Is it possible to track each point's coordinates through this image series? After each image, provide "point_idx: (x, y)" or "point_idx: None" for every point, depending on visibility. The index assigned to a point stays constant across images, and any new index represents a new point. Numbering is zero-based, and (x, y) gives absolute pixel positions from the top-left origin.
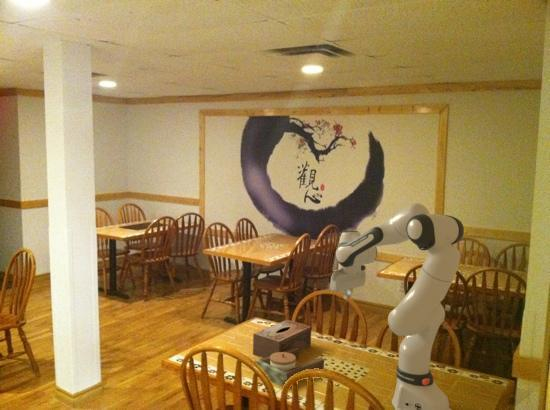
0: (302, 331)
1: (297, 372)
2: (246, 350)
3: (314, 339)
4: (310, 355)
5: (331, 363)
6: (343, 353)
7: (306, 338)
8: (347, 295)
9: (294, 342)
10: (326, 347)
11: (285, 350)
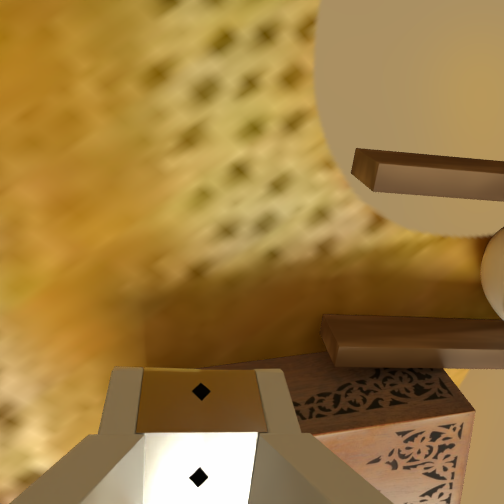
0: None
1: None
2: None
3: (59, 415)
4: (245, 305)
5: (249, 172)
6: (77, 208)
7: None
8: (270, 428)
9: (312, 398)
10: (91, 318)
11: (408, 367)
